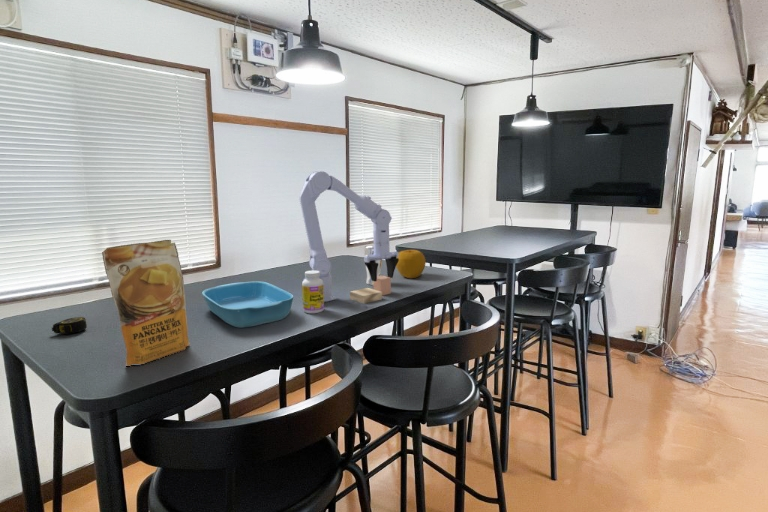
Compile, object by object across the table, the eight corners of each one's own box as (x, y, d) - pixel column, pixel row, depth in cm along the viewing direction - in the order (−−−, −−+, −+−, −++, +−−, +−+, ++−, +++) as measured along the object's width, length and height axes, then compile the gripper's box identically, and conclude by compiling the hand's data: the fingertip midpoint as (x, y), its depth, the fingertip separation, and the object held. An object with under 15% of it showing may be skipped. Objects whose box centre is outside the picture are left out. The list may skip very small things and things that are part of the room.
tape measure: (72, 327, 134) (71, 315, 134) (93, 328, 133) (91, 316, 132) (52, 336, 128) (50, 323, 127) (73, 336, 126) (71, 324, 126)
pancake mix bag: (109, 366, 106) (93, 247, 101) (184, 340, 122) (174, 237, 117) (124, 372, 102) (109, 250, 97) (199, 345, 118) (189, 238, 113)
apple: (390, 278, 189) (390, 251, 187) (401, 272, 201) (401, 246, 199) (420, 281, 184) (420, 253, 182) (429, 274, 196) (429, 248, 194)
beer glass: (383, 281, 185) (382, 244, 182) (381, 285, 178) (380, 247, 175) (366, 281, 185) (365, 245, 183) (363, 285, 179) (362, 247, 176)
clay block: (381, 295, 163) (381, 279, 162) (373, 293, 167) (373, 277, 166) (390, 293, 166) (390, 277, 165) (383, 291, 170) (382, 275, 169)
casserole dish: (196, 307, 153) (194, 286, 152) (260, 296, 166) (259, 277, 165) (231, 338, 124) (229, 312, 123) (306, 321, 137) (304, 298, 136)
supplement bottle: (308, 315, 142) (306, 275, 140) (300, 310, 147) (298, 271, 145) (327, 311, 145) (326, 272, 143) (318, 306, 151) (317, 268, 149)
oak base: (363, 304, 154) (363, 296, 153) (350, 299, 160) (349, 291, 160) (382, 300, 159) (381, 291, 158) (368, 295, 165) (368, 287, 164)
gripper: (372, 245, 156) (373, 284, 158) (403, 241, 165) (404, 277, 167) (360, 243, 161) (361, 280, 163) (391, 239, 170) (392, 274, 172)
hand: (382, 279), depth 166 cm, fingers open, 7 cm apart
